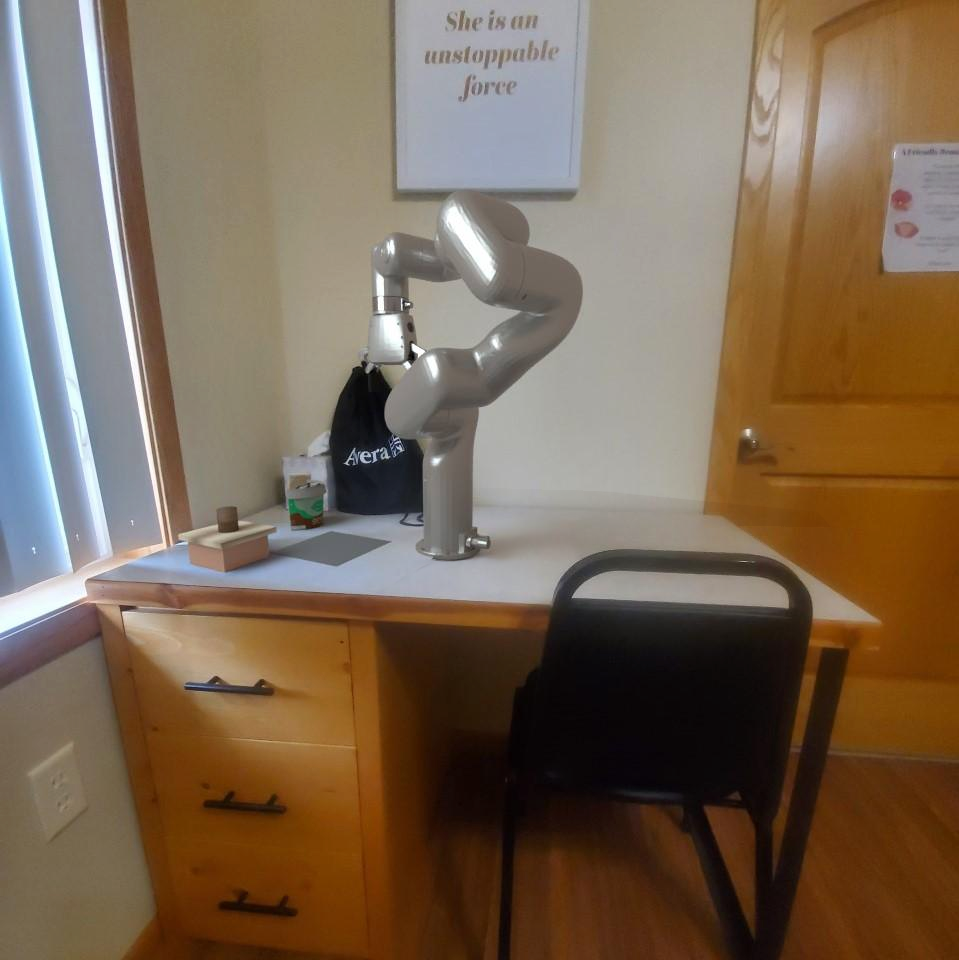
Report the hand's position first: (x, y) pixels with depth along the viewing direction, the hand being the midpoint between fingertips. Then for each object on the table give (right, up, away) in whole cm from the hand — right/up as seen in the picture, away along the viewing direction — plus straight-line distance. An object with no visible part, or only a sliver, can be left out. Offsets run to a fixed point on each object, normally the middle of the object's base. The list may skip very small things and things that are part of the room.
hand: (392, 392), depth 103 cm
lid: (-26, -29, -18) cm, 43 cm away
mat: (-10, -32, -10) cm, 35 cm away
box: (-25, -28, +14) cm, 40 cm away
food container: (-19, -30, +6) cm, 36 cm away
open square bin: (-26, -34, -17) cm, 46 cm away
